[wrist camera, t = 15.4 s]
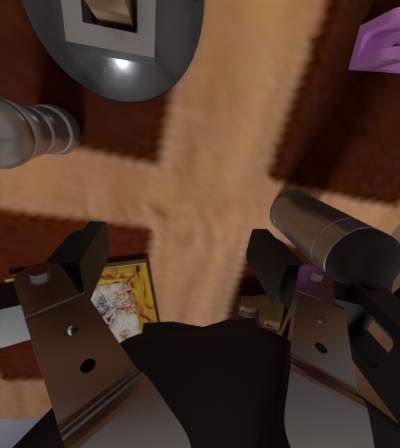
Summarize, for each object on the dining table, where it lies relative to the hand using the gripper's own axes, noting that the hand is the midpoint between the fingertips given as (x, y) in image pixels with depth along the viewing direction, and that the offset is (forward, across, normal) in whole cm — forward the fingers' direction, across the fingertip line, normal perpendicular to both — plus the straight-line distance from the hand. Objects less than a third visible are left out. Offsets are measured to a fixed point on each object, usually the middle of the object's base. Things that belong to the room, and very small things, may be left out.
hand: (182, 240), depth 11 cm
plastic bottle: (+28, +17, -3) cm, 33 cm away
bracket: (+28, -34, -21) cm, 49 cm away
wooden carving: (+28, -26, +33) cm, 51 cm away
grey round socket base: (+28, +8, -19) cm, 35 cm away
